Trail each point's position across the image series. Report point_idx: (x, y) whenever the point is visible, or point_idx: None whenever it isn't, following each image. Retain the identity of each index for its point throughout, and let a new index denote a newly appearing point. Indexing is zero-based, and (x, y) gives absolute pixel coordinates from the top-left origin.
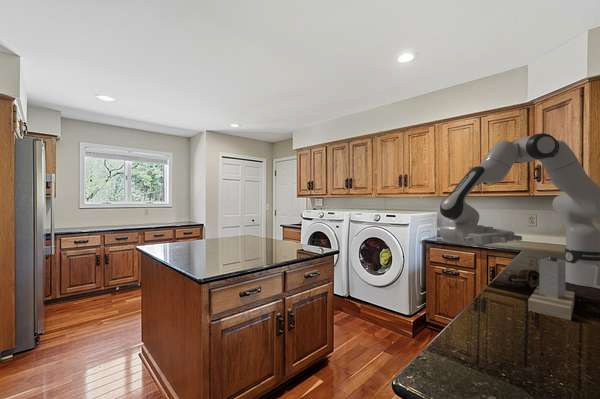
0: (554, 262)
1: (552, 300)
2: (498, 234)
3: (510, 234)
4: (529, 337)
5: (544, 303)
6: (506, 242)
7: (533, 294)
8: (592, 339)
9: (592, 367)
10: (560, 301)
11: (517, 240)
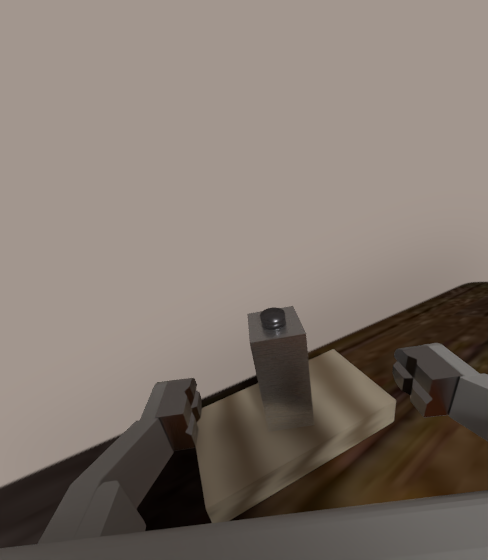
0: (294, 312)
1: (325, 384)
2: (411, 500)
3: (97, 509)
4: (481, 340)
5: (365, 376)
6: (400, 377)
7: (333, 431)
8: (369, 326)
9: (434, 297)
10: (312, 376)
11: (196, 423)
